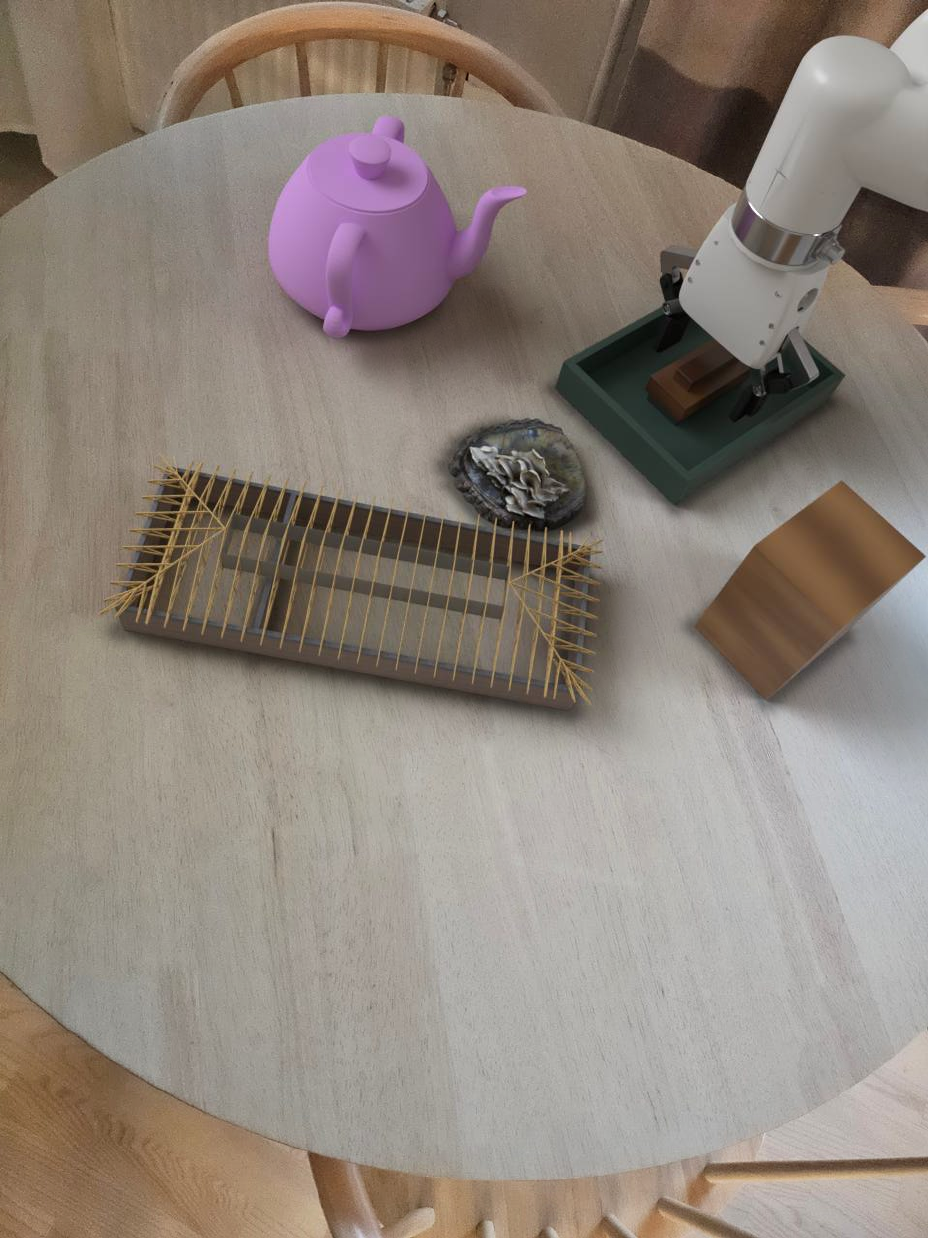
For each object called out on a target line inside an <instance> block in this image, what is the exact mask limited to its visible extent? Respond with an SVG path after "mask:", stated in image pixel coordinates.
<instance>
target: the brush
mask: <svg viewBox="0 0 928 1238" xmlns="http://www.w3.org/2000/svg"><path fill="white" fill-rule="evenodd" d="M748 378H750V372H749V366H747V365H746V364H744V363H743V362H741V361H740V360H739V359H737V358H736V357H735V356H734V355H733V354H732V353H730V352H729V351H728V350H727V349H726V348H725V347H723V346H722V345H721V344H720V343H719V342H718V341H717V340H716V339H714V338H713V339H711V340H710V341H708V342H706V343H705V344H703V345H701V346H700V347H698V348H696V349H695V350H693V351H691V352H690V353H688V354H686V355H685V356H683V357H681V358H680V359H678V360H676V361H675V362H673V363H671V364H670V365H668V366H666V367H665V368H663V369H661V370H660V371H658V372H656V373H655V374H653V375H651V376H650V379H649V381H648V383H647V385H646V388H645V390H646V391H647V392H648V393H649V395H648V397H647V400H648V401H649V402H650V403H651V404H652V405H653V406H654V407H655V408H656V409H657V410H658V411H660V412H661V413H662V414H663V415H664V416H665V417H666V418H667V419H668V420H669V421H670V422H671V423H672V424H673V425H674V426H677V425H678V424H680V423H681V422H683V421H685V420H686V419H688V418H689V417H691V416H692V415H694V414H696V413H697V412H699V411H700V410H702V409H703V408H705V407H707V406H708V405H710V404H711V403H713V402H714V401H716V400H718V399H719V398H721V397H722V396H724V395H725V394H727V393H729V392H730V391H732V390H733V389H735V388H736V387H738V386H739V385H741V384H742V382H743V381H745V380H747V379H748Z"/></svg>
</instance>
